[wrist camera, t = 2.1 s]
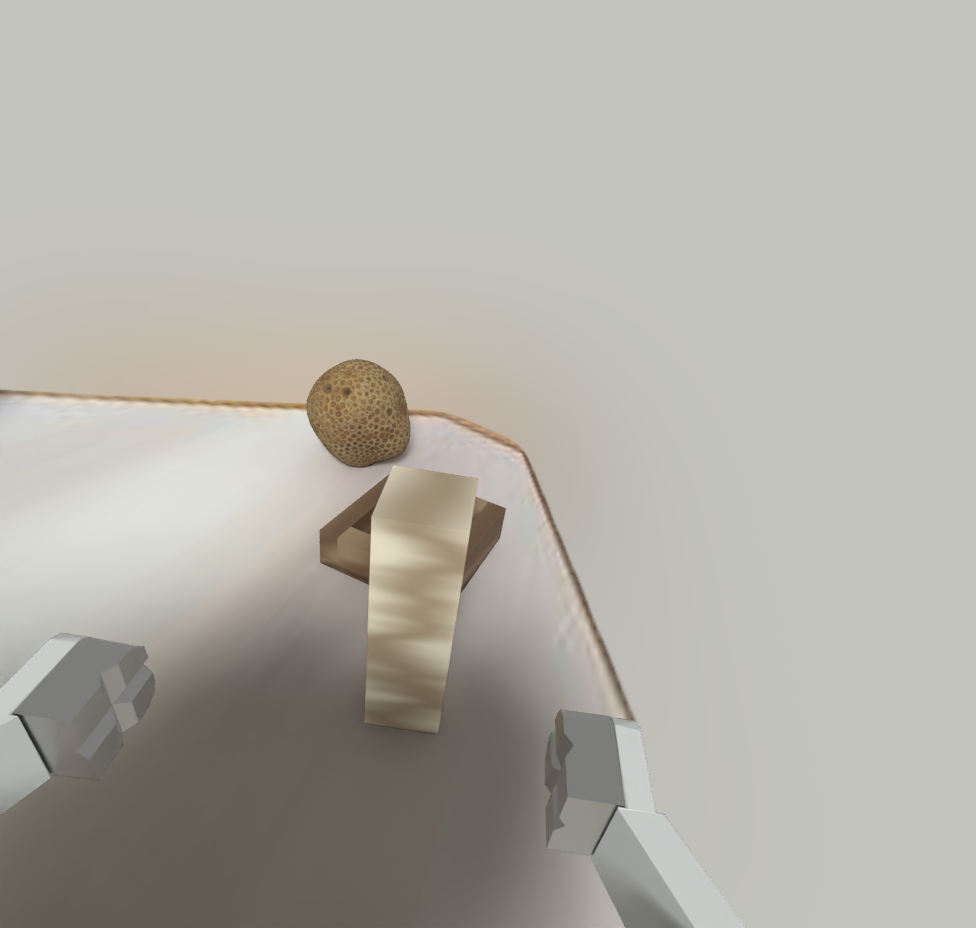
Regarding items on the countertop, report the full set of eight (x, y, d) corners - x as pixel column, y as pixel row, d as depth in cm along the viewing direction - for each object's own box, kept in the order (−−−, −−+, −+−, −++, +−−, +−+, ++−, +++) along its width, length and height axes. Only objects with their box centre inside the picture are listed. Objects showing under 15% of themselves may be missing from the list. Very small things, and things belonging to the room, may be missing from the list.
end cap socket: (320, 562, 38) (319, 530, 36) (395, 496, 46) (397, 467, 45) (442, 618, 35) (447, 585, 34) (500, 537, 43) (505, 508, 42)
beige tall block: (364, 723, 28) (371, 516, 21) (382, 661, 32) (393, 465, 25) (438, 734, 28) (470, 531, 21) (447, 671, 32) (478, 478, 25)
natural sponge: (311, 436, 53) (308, 339, 48) (401, 437, 55) (407, 345, 50) (306, 488, 45) (301, 380, 40) (409, 487, 48) (417, 385, 43)
